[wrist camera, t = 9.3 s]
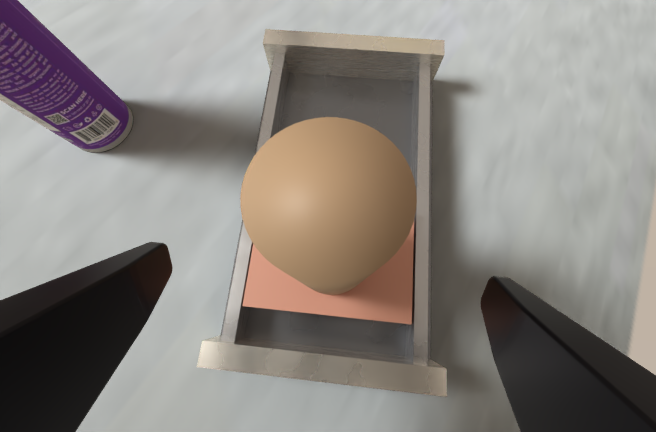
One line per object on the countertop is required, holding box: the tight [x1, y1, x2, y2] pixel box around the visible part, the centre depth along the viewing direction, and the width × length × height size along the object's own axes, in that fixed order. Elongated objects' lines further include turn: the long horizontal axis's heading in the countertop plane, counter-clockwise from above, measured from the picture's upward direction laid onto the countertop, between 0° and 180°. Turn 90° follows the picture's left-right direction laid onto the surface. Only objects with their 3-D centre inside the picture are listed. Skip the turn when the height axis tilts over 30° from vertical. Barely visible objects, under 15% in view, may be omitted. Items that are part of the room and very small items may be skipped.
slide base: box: [197, 29, 447, 397], centre depth 19 cm, size 21×12×4 cm, turn 174°
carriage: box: [241, 117, 417, 324], centre depth 12 cm, size 6×9×12 cm
